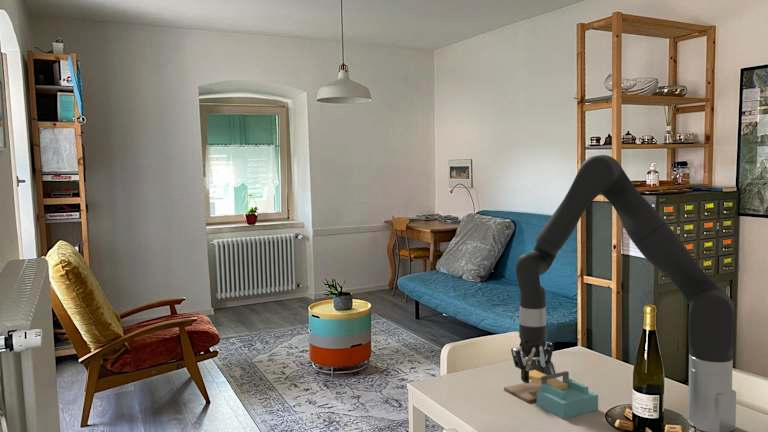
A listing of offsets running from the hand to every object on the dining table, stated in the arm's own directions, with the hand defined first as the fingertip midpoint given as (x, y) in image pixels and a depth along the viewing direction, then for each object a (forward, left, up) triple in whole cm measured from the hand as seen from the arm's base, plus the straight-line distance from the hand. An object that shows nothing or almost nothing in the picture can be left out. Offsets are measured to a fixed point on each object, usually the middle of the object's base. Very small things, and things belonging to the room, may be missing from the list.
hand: (532, 380), depth 168 cm
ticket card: (-5, 0, +1) cm, 5 cm away
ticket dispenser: (-14, 0, -3) cm, 14 cm away
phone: (+13, -14, -4) cm, 20 cm away
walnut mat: (-1, 0, -3) cm, 3 cm away
